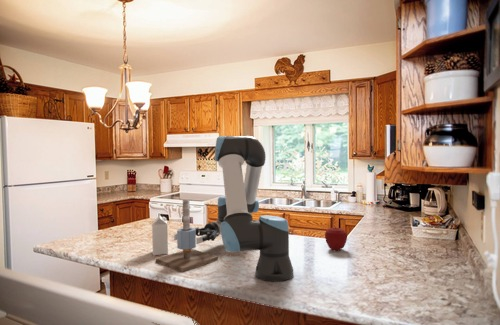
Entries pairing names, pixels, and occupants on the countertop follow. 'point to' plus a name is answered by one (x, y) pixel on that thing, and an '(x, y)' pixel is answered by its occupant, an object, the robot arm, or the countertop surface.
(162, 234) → the milk carton
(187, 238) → the sleeve
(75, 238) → the countertop surface
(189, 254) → the post stand
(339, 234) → the apple
